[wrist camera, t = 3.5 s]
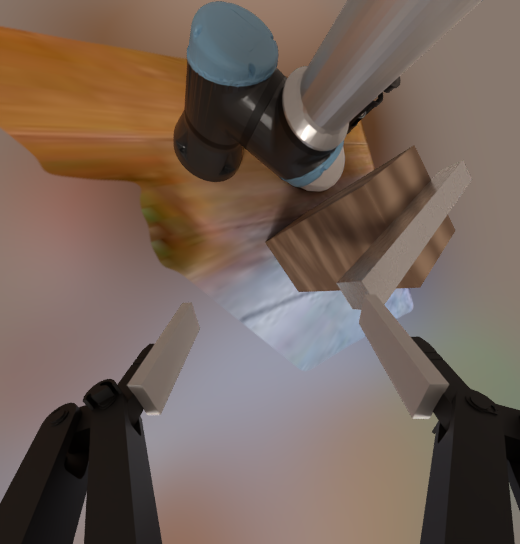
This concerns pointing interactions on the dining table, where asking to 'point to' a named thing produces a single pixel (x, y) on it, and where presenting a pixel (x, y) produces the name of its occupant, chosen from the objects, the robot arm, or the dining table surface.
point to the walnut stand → (356, 227)
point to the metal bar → (404, 238)
